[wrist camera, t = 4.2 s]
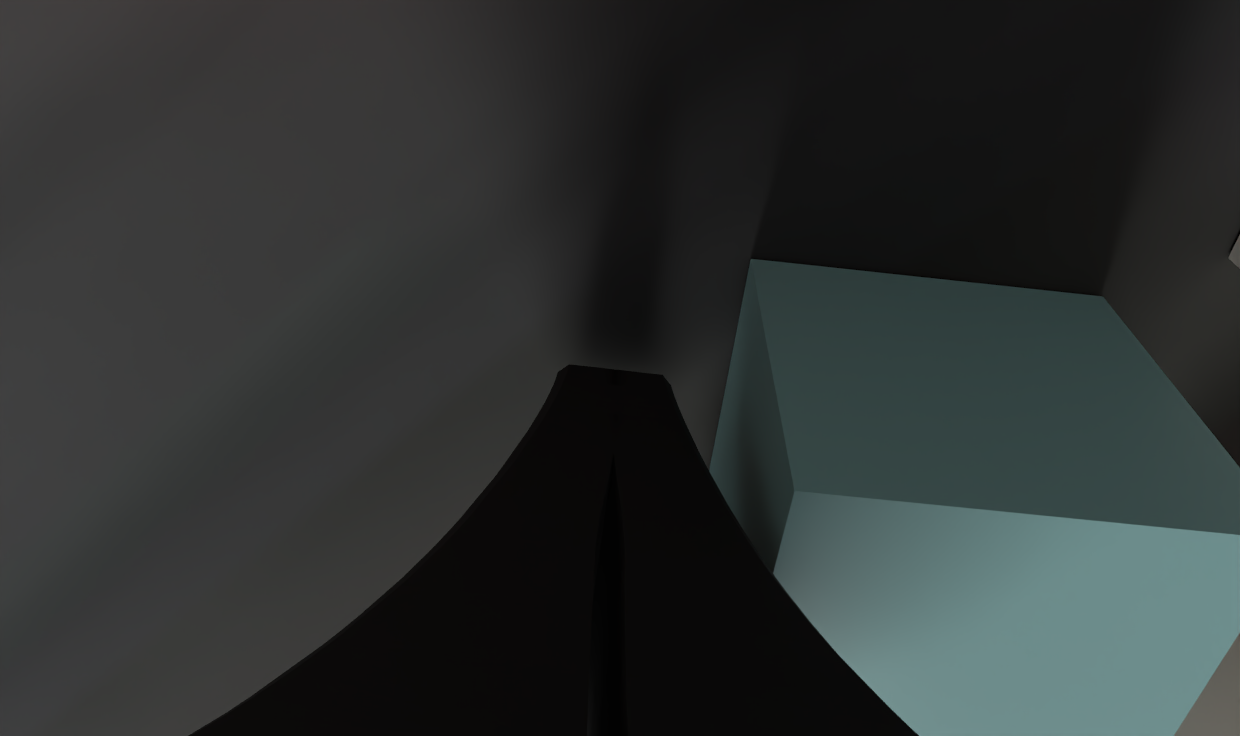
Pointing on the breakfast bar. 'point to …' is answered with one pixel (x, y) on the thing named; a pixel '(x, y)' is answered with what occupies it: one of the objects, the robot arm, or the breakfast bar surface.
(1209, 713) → the white angular block
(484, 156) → the breakfast bar surface
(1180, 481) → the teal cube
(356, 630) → the robot arm
